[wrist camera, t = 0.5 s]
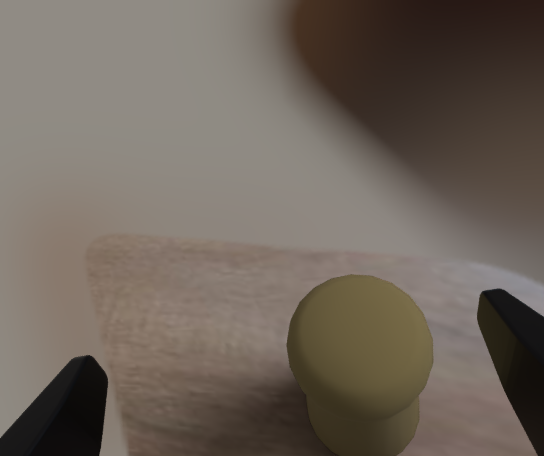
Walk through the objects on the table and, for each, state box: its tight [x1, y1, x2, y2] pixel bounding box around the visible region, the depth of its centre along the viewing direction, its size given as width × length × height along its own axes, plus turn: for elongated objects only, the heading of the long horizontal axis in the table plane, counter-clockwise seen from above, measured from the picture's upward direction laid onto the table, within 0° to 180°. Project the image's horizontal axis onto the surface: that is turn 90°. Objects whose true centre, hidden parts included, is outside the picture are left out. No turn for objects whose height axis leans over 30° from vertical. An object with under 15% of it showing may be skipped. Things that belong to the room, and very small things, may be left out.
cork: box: [287, 274, 433, 456], centre depth 18 cm, size 6×6×11 cm
